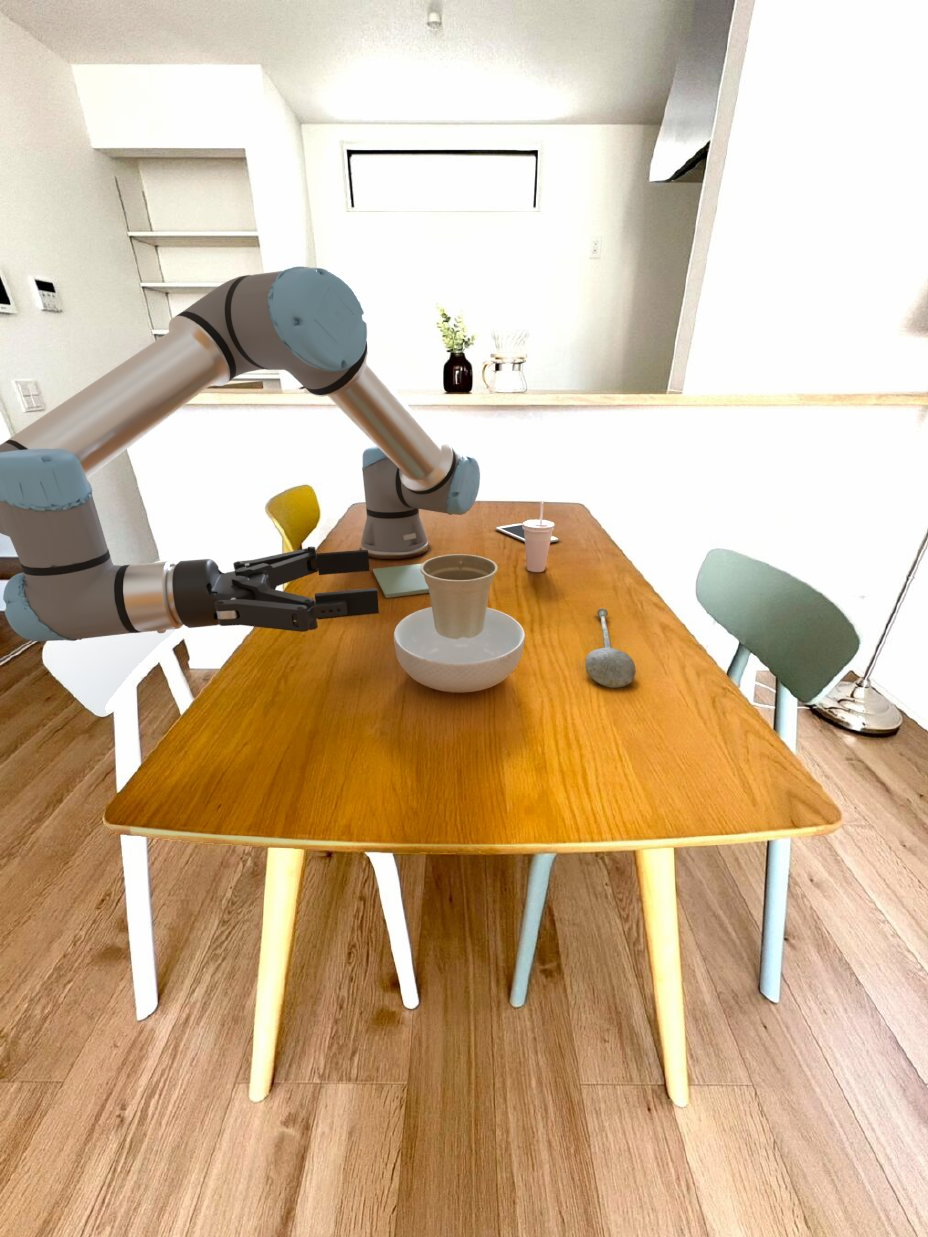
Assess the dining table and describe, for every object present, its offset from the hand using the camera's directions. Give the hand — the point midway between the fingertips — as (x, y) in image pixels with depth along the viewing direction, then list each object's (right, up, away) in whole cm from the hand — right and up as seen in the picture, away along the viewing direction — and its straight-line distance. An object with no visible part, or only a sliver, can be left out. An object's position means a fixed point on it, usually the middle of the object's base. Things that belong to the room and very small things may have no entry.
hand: (373, 578), depth 63 cm
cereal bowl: (+10, -13, +8) cm, 18 cm away
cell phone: (+26, +16, +68) cm, 74 cm away
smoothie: (+26, +5, +46) cm, 53 cm away
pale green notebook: (+1, +3, +40) cm, 40 cm away
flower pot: (+10, -6, +5) cm, 13 cm away
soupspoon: (+32, -9, +15) cm, 37 cm away
